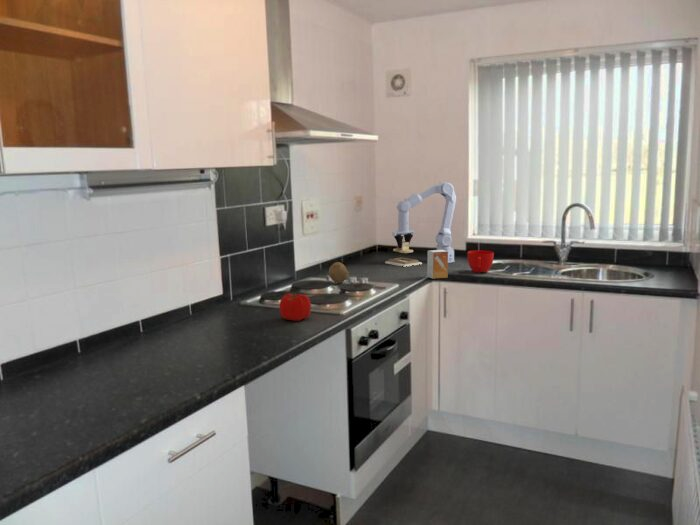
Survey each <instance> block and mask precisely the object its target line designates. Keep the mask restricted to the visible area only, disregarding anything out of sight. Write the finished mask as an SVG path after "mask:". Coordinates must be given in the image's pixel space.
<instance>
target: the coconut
mask: <svg viewBox="0 0 700 525" xmlns="http://www.w3.org/2000/svg"><path fill="white" fill-rule="evenodd" d="M328 276H329V278H331V280H332V281H333V282H334V283H336V282H337V283H336V284H338V283H339V284H341V283H340V282H342V283H343V282H344V281H346V280H347V279H349V277H350V276H349V271H348V270H347V267H346V266H345V265H344V264H343V263H342V262H340V261H337V262H334V263H332V264H331V265H330V266H329V269H328Z"/></svg>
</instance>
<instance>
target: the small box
mask: <svg viewBox="0 0 700 525" xmlns="http://www.w3.org/2000/svg"><path fill="white" fill-rule="evenodd" d="M426 265H427V267H426V268H427V269H426V270H427V271H426V272H427V273H426V274H427V275H426V276H427V278H430V279H432V280H435V279H448V274H449V272H448V270H449V263H448V251H445V250H437V249H433V250H432V249H431V250H427V264H426Z"/></svg>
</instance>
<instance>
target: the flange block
mask: <svg viewBox="0 0 700 525" xmlns="http://www.w3.org/2000/svg"><path fill="white" fill-rule="evenodd" d="M392 250H393V251H392V252H397V253H401V254H409V253H414V250H413V249H410V244H409V242H405V240H402V248H398V245H397V247H396V248H393V249H392Z"/></svg>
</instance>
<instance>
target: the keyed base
mask: <svg viewBox="0 0 700 525" xmlns="http://www.w3.org/2000/svg"><path fill="white" fill-rule="evenodd" d="M384 264H386V265H393V266H397V267H402V266H403V267H404V268H406V266H407V267H411V266H412V265H414V266H419V264H420V265H423V262H421V261H419V260H418V259H413V258H406V257H395V258H390V259H388V260H386V261H385V262H384ZM412 267H413V266H412Z"/></svg>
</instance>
